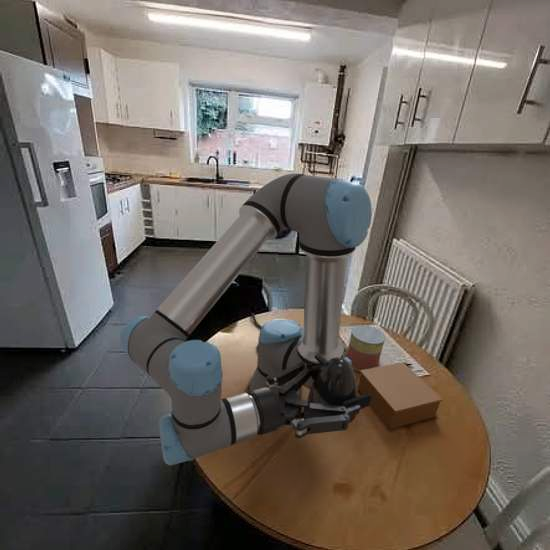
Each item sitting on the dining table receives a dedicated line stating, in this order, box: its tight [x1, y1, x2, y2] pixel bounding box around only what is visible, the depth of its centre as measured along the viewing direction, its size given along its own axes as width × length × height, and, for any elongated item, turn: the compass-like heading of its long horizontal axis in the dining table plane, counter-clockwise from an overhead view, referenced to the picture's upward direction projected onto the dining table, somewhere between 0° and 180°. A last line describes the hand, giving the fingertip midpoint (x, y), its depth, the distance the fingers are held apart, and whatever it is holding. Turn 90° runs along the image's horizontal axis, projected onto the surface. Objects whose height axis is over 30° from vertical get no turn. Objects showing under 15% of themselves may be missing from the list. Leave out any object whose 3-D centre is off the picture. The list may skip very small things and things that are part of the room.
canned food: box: [346, 324, 386, 373], centre depth 109 cm, size 11×11×12 cm
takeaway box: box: [357, 361, 444, 430], centre depth 93 cm, size 17×17×7 cm
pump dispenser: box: [307, 354, 359, 425], centre depth 63 cm, size 10×10×15 cm
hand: (352, 382), depth 64 cm, fingers closed on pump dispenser, 9 cm apart
